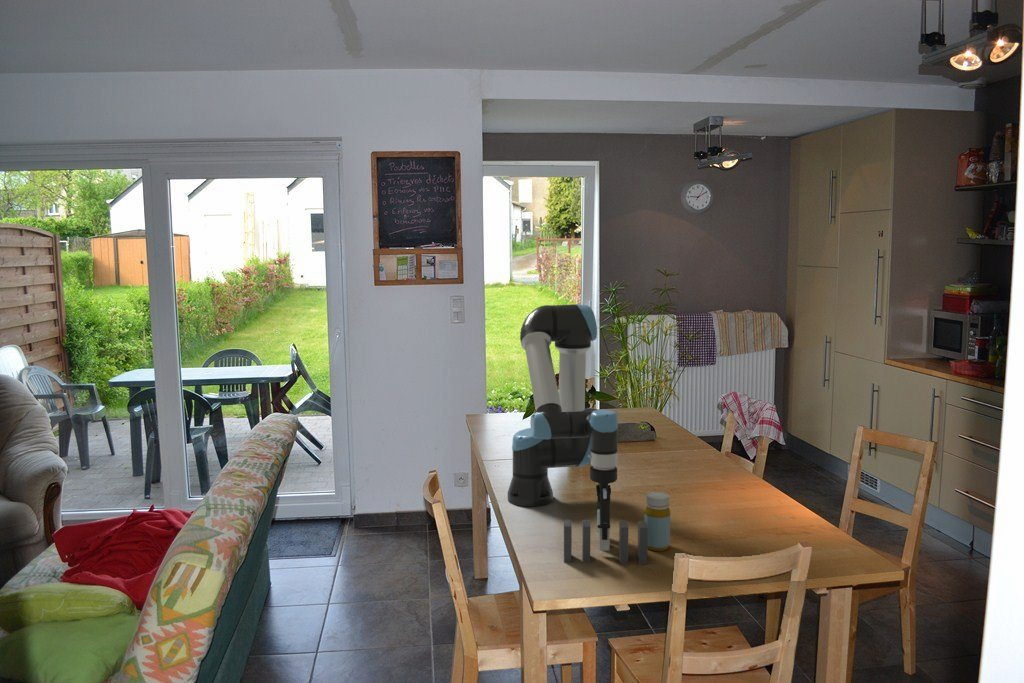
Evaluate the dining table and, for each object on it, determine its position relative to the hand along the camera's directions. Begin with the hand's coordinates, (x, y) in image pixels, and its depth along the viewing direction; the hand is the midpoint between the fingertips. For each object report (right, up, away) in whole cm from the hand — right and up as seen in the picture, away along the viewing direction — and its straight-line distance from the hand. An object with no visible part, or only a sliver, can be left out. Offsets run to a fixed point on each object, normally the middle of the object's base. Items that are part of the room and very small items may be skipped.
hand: (603, 540), depth 215 cm
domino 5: (+9, -3, -9) cm, 14 cm away
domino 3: (0, -1, 0) cm, 2 cm away
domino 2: (-6, -3, -8) cm, 10 cm away
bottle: (+15, -2, -1) cm, 15 cm away
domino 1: (-11, -3, -8) cm, 14 cm away
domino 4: (+4, -3, -9) cm, 10 cm away
